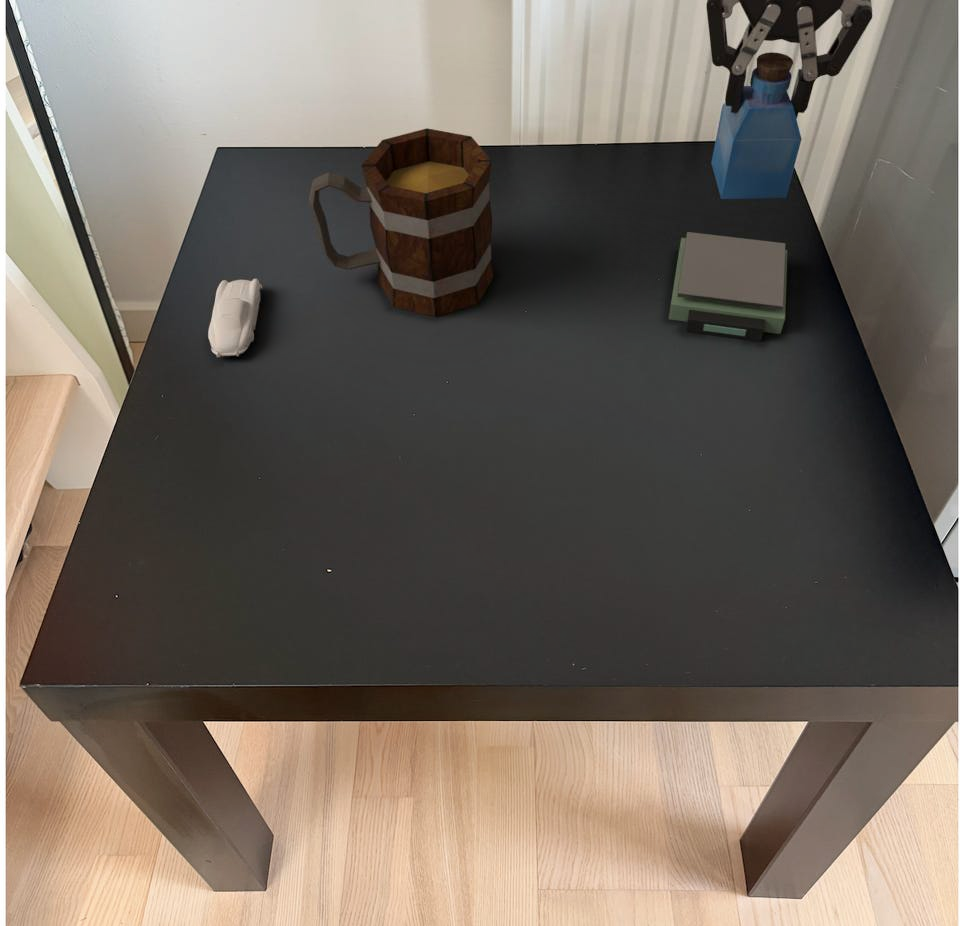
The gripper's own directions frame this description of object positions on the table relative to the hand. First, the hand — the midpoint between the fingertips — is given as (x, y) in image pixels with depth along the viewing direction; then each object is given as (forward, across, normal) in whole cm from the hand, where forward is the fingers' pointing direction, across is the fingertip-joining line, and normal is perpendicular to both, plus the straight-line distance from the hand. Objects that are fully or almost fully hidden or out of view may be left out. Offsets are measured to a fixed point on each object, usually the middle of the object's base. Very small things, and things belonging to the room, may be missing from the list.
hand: (764, 110), depth 84 cm
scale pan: (+21, +1, +2) cm, 21 cm away
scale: (+23, +1, +2) cm, 23 cm away
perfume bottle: (+8, 0, 0) cm, 8 cm away
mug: (+23, -35, -3) cm, 42 cm away
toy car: (+23, -52, -14) cm, 59 cm away
